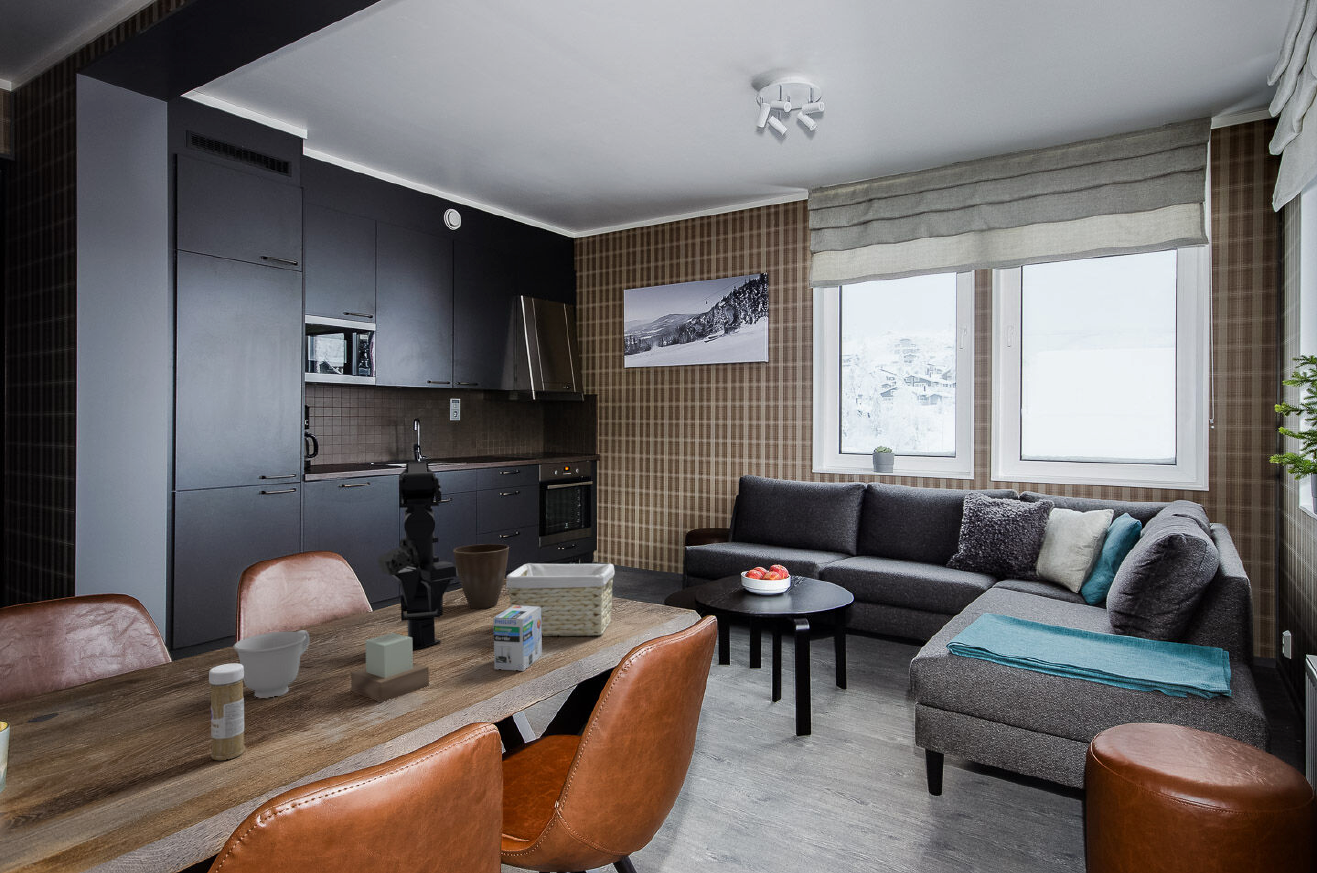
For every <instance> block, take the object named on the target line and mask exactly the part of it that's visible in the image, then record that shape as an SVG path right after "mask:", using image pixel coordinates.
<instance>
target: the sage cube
mask: <svg viewBox="0 0 1317 873" xmlns="http://www.w3.org/2000/svg"><path fill="white" fill-rule="evenodd" d="M413 654H414V653H413V645H412V637H408V635H403V634H400V633H396V632H391V633H387V634H383V635H380V636H377V637H373V638H369V639H365V668H366V672H367V673H370V674H373V675H377V676H380V677H383V678H387V677H390V676H393V675H396V674H399V673H402V672H405V671H408V670H411V669H413V663H414V658H413V657H414V656H413Z"/></svg>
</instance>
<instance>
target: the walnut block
mask: <svg viewBox="0 0 1317 873" xmlns="http://www.w3.org/2000/svg"><path fill="white" fill-rule="evenodd" d="M429 670H430V669H429V666H426V665H422V664H420V663H416V662H413V669H411V670H408V671H405V672H402V673H399V674H396V675H393V676H390V677H387V678H383V677H380V676H377V675H373V674H370V673H367V672H366V667H364V668H360V669H357V670H355V671H350V681H351V682H350V684H351V686H350V687H351V689H350V690H351V692H352V691H353V693H355V694H357V695H361V696H364V697H365V696H367V697H366V698H368V697H370V698H369V699H371V698H372V699H371V700H373V699H374V701H376V700H377V701H376V702H379V701H380V702H379V703H381V702H382V703H384V701H385V702H387V700H388V701H390V700H389V699H391V700H393V699H392V698H394V699H396V697H397V698H399V697H402V696H405V695H407V694H410V693H414V692H416V691H419V690H422V689H425V688H428V687H429V686H430V674H429V673H430V671H429ZM427 686H428V687H427ZM424 687H425V688H424ZM421 688H422V689H421ZM413 691H414V692H413ZM398 696H399V697H398Z"/></svg>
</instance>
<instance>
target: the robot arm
mask: <svg viewBox="0 0 1317 873" xmlns="http://www.w3.org/2000/svg"><path fill="white" fill-rule="evenodd" d="M398 500H399V501H398V505H399V506H398V507H399V509H404V510H405V511H404V513H403V514H404V524H403V525H404V538H400V541H399V547H397V548H395V549H392V550H390V551H388V552H386V553H384V554H383V555H381V556H379V557H378V558H377V559H376V561H377V563H378V566H379V570H380V572H381V574H382V575H383V574H387V575H388V576H392V577H393V579H396V580H397V582H398V584H399V587H400V590H401V593H400V618H401V619H400V620H401V622H404V621H407V622H406V623H407V625H406V626H407V636H408V637H412V645H413V649H414V650H419V649H422V648H427V647H430V646H434V645H437V644H441V643H442V640H440V639H438V638H436V626H435V619H436V618H438V619H439V618H441V616H443V615H444V611H443V610H444V609H443V605H444V599H443V598H444V595H445V592H446V591H447V589H448V587H449V585H450V583H451V581H454V578H455V577H456V578H457V577H458V572H457V566H456V563H454V562H450V561H445V560H442V561H440V559H439V556H435V543H439V537H436V536H435V529H436V521H435V517H434V515H435V514H434V510H433V508H432V507H439V506H440V505H439V504H440V503H441V502H442V484H441V482H440V481H439V478H438V477H436V474H435V472H434V471H432V470H431V469H430V468H429V462H428V461H427V462H426V461H425V460H424V461H423V460H421V461H409V462H406V463H405V469H404V470H403V471H402V472H401V473H400V474H399V475H398ZM434 500H435V501H434Z"/></svg>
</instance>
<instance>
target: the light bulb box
mask: <svg viewBox="0 0 1317 873" xmlns="http://www.w3.org/2000/svg"><path fill="white" fill-rule="evenodd" d="M492 620H493V621H492V622H493V657H494V658H493V660H494V664H493V665H494V670H499V669H501V670H503V671H516V670H518V671H520V672H524V671H525V670H526V668H527V669H528V668H529V667H530V666H531V665H533V664H534V663H535V662H536V661H538V658H539V657H540V656H541V655H542V656H543V642H542V641H543V640H542V638H543V636H542V632H541V607H535V606H518V605H513V606H511V607H510V606H509V608H507V609H505V610H504V611H502V612H499V614H497V615H496V616H494V617H492ZM542 656H541V657H542ZM541 657H540V658H541ZM540 658H539V659H540ZM501 670H500V671H501Z"/></svg>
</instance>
